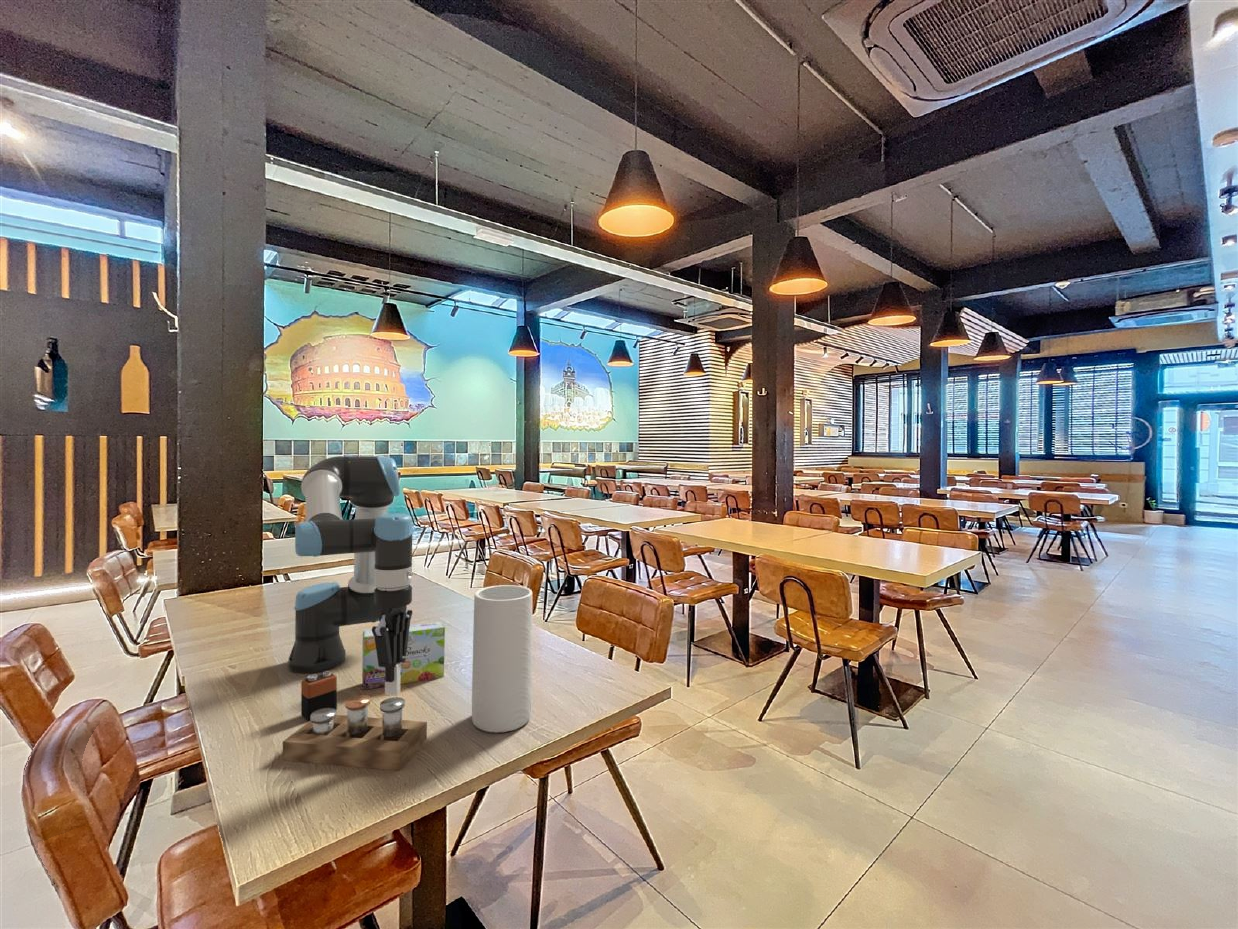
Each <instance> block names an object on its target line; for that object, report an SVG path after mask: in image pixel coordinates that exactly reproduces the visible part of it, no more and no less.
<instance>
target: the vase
mask: <svg viewBox="0 0 1238 929" xmlns="http://www.w3.org/2000/svg"><path fill="white" fill-rule="evenodd" d="M473 595H474V596H473V599H474V601H473V631H472V632H473V634H472V636H473V637H472V638H473V640H472V673H471V674H472V677H471V721H472V723H473V725H474V726H475V727H476V728H478V729H480V730H482V731H484V732H487V733H493V732H494V734H496V733H498V732H499V733H498V734H501V733H500V732H502V733H508V731H509V732H511V731H515V730H517V729H520V728H521V727H523V726H525V725H526V724H527V723H528V722H529V721H530V719H531V715H532V699H533V698H532V696H533V694H532V693H533V591H532V589H531V588H529V587H527V586H523V585H513V584H504V585H503V584H500V585H492V586H491V585H490V586H486V587H483V588H480V589H478V590H476V591H475V592H474V594H473Z"/></svg>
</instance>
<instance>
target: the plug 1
mask: <svg viewBox="0 0 1238 929" xmlns="http://www.w3.org/2000/svg"><path fill="white" fill-rule="evenodd" d="M336 715H337V710H335V709H333V708H324V709H319V710H317V711H315V712H313V713H312V714H311V715H310V721H311V722H312V723H313V734H315V735H328V734H329V733H330V732H332V731H333V730H334V718H335V717H336Z"/></svg>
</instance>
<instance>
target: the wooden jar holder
mask: <svg viewBox="0 0 1238 929" xmlns="http://www.w3.org/2000/svg"><path fill="white" fill-rule="evenodd" d="M427 734H428V722H427V721H419V720H408V719H407V720H405V719H402V732H401V733H400V734H399V735H397V736H393V737H385V736H383V735H382V717H371V716H369V717H368V728H367V730H365V731H364V732H362V733H358V734H350V733H348V732H347V715H343V714H336V717H335V718H334V730H333V731H332V732H330V733H329V734H328V735H315V734H313V723H312V722H311V721H308V722H306V723H305V724H304V725H303V726H301V727H300V728H299V729H297V730H296V731H295V732H294V733H292V734H290V735H289V736H288V737H287V738H286V739H284V740H283V741H282V761H287V762H300V763H301V762H302V763H311V764H313V763H314V764H325V765H334V766H342V767H343V766H345V767H353V768H354V767H355V768H367V769H378V770H390V771H398V772H399V771H401V770H402V769H403V768H404V767H405V766H406V764H407V763H409V761H410V760H411V759H412V757H413V756H414V755H415V753H417V751H418V750H419V749H420V748H421V747H422V745H423V744H424V743H425V742H426V741H427V740H428V738H427V737H428V735H427Z"/></svg>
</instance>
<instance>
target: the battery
mask: <svg viewBox="0 0 1238 929" xmlns="http://www.w3.org/2000/svg"><path fill="white" fill-rule="evenodd" d="M337 677H338V676H337V675H335V674H334V673H332V672H331V671H329V670H325V671H323V673H320V674H316V673H315V674H309V675H307V677H306V678H304V679H302V680H301V681H300V683H301V684H300V687H301V690H300V693H301V694H300V696H301V701H300V702H301V703H300V704H301V706H300V707H301V708H300V711H301V712H300V713H301V716H302V717H303V718H304V719H305V720H306V721H308V722H309V721H310V715H311V714H312V713H313V712H315V711H317V710H319V709H324V708H333V709H335V710H336V711H337V709H338V703H337V702H338V698H337V697H338V696H337V695H338V694H337V693H338V687H337V686H338V684H337V683H338V682H337V681H338V680H337V679H338V678H337Z"/></svg>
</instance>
